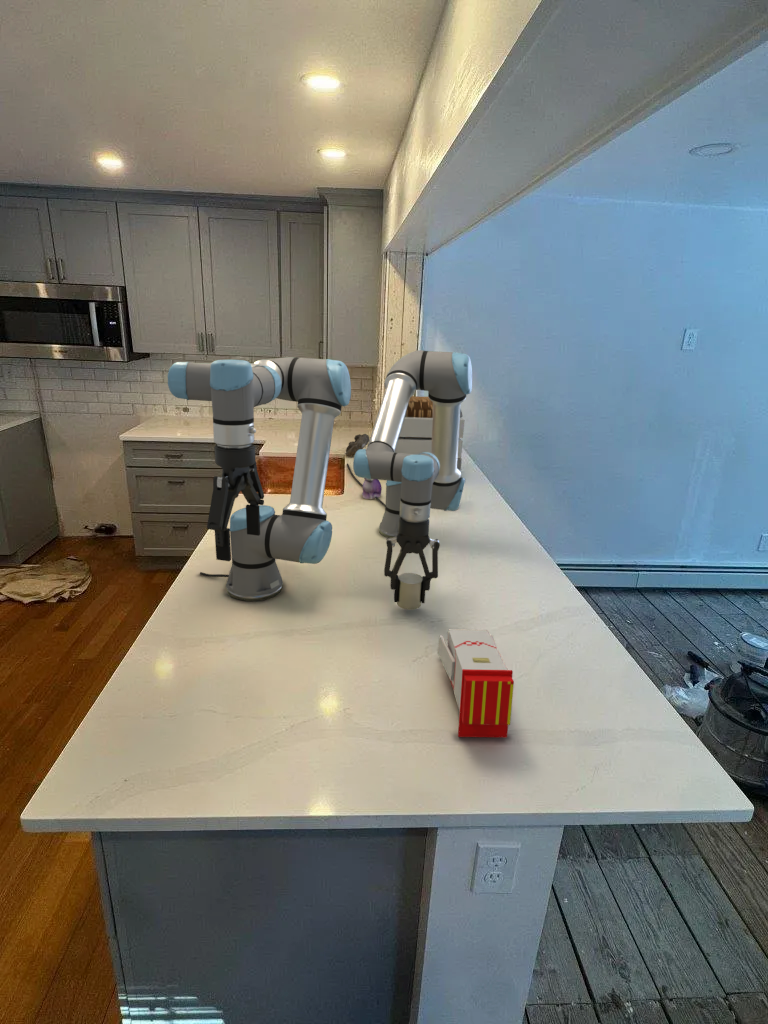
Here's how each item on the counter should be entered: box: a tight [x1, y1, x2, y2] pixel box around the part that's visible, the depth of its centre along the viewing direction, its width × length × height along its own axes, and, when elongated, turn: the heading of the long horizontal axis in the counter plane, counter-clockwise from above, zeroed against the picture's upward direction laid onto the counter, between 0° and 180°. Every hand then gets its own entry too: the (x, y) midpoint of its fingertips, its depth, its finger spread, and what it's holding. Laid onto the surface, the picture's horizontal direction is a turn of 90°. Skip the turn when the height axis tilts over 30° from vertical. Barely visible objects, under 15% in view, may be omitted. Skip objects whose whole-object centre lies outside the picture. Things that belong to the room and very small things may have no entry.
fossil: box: [345, 433, 370, 458], centre depth 306 cm, size 22×10×15 cm
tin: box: [396, 572, 423, 611], centre depth 147 cm, size 6×6×8 cm
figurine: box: [361, 478, 383, 500], centre depth 235 cm, size 9×10×15 cm
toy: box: [437, 628, 515, 738], centre depth 117 cm, size 12×13×30 cm
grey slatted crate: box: [395, 395, 465, 472], centre depth 268 cm, size 34×33×41 cm
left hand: (239, 546), depth 115 cm, fingers open, 13 cm apart
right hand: (409, 600), depth 148 cm, fingers closed on tin, 6 cm apart
